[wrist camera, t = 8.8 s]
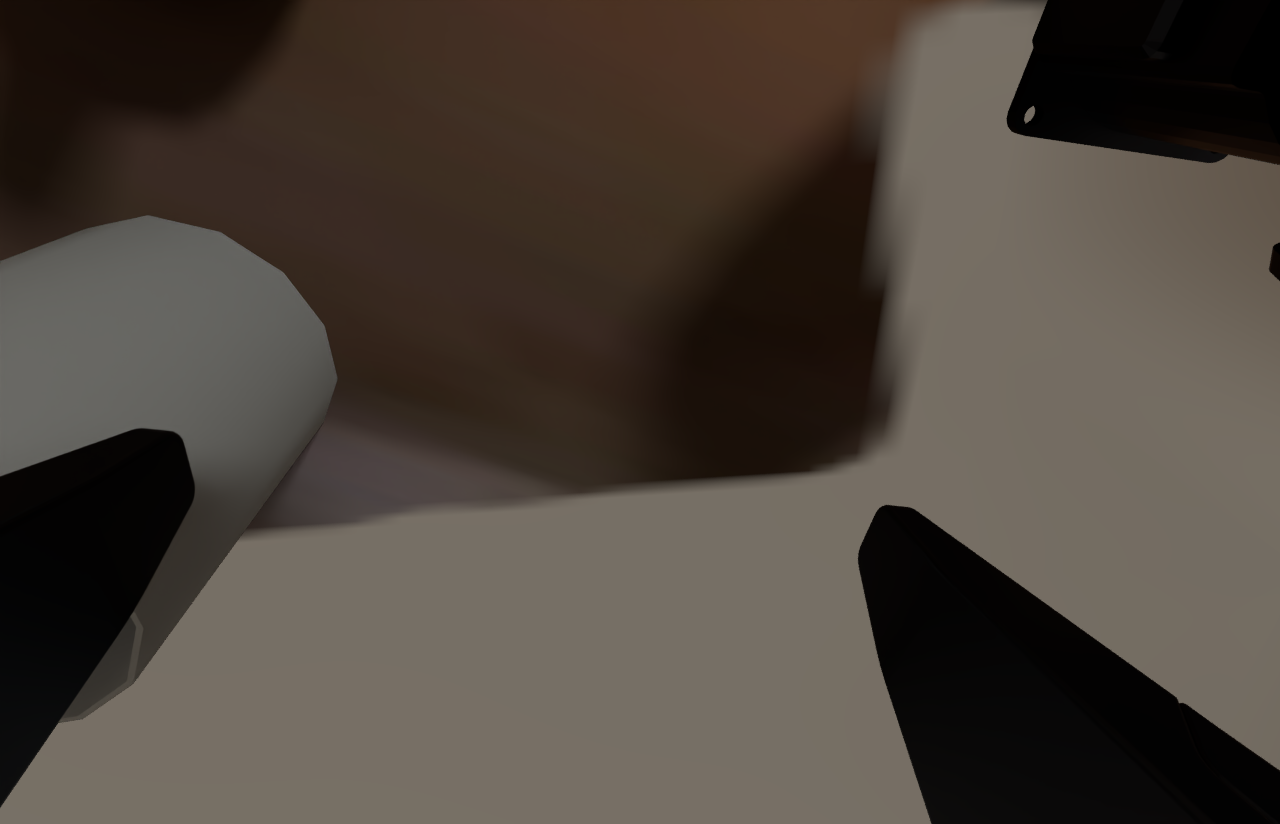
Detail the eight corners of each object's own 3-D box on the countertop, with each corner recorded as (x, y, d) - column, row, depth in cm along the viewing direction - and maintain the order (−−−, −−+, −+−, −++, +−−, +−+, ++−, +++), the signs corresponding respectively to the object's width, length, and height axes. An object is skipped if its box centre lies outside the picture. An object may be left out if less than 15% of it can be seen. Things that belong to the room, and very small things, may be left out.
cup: (357, 460, 22) (200, 728, 14) (115, 458, 22) (-204, 735, 13) (298, 219, 18) (12, 394, 9) (-7, 211, 17) (-604, 387, 9)
